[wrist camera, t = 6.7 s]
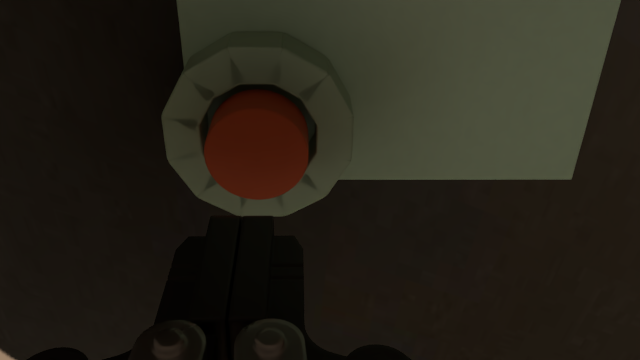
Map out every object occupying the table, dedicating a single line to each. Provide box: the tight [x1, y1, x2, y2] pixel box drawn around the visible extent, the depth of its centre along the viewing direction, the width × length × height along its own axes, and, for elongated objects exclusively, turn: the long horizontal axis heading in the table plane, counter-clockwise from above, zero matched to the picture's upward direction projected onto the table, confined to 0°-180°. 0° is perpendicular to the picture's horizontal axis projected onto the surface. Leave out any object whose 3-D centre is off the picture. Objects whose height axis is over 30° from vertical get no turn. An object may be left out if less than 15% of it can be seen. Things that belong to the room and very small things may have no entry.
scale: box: [161, 0, 621, 217], centre depth 19 cm, size 14×12×4 cm
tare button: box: [204, 89, 309, 200], centre depth 18 cm, size 3×3×2 cm
